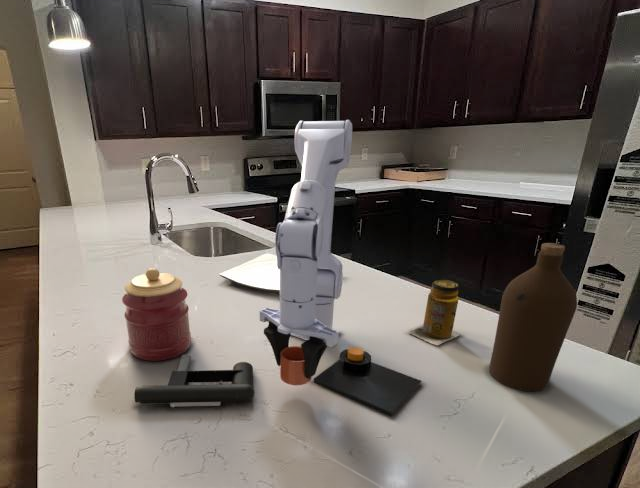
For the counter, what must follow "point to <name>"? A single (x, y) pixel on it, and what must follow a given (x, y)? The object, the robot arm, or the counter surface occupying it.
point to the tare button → (355, 354)
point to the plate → (257, 273)
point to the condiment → (439, 313)
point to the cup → (293, 366)
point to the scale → (368, 383)
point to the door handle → (200, 386)
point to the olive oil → (533, 323)
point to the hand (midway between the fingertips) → (295, 369)
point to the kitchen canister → (156, 316)
